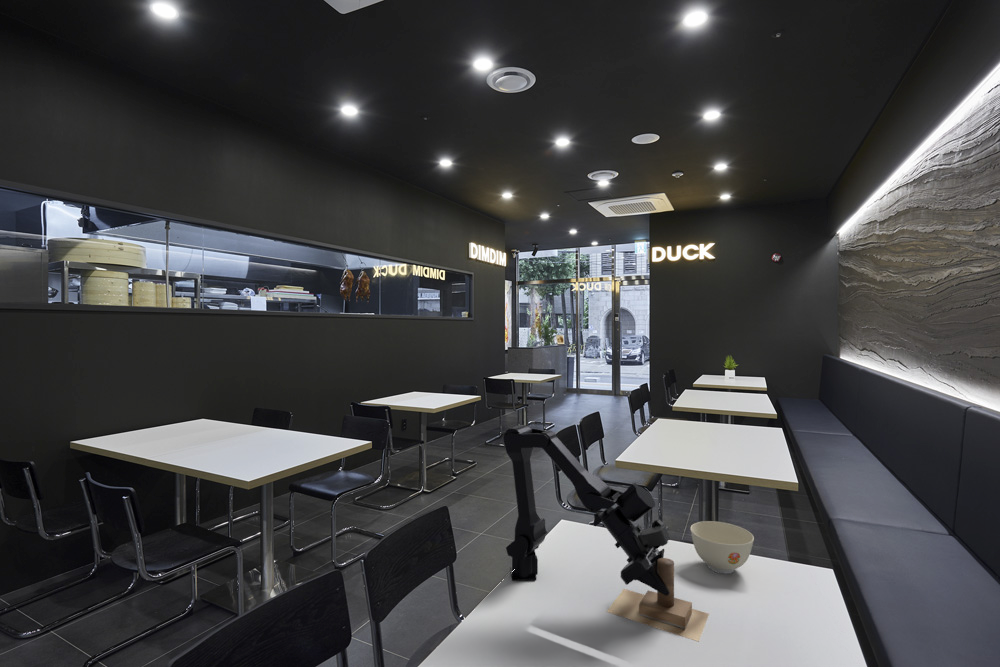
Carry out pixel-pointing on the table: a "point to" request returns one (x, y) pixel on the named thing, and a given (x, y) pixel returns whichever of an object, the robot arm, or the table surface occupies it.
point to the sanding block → (666, 600)
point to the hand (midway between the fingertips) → (670, 590)
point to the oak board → (629, 609)
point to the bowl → (722, 545)
